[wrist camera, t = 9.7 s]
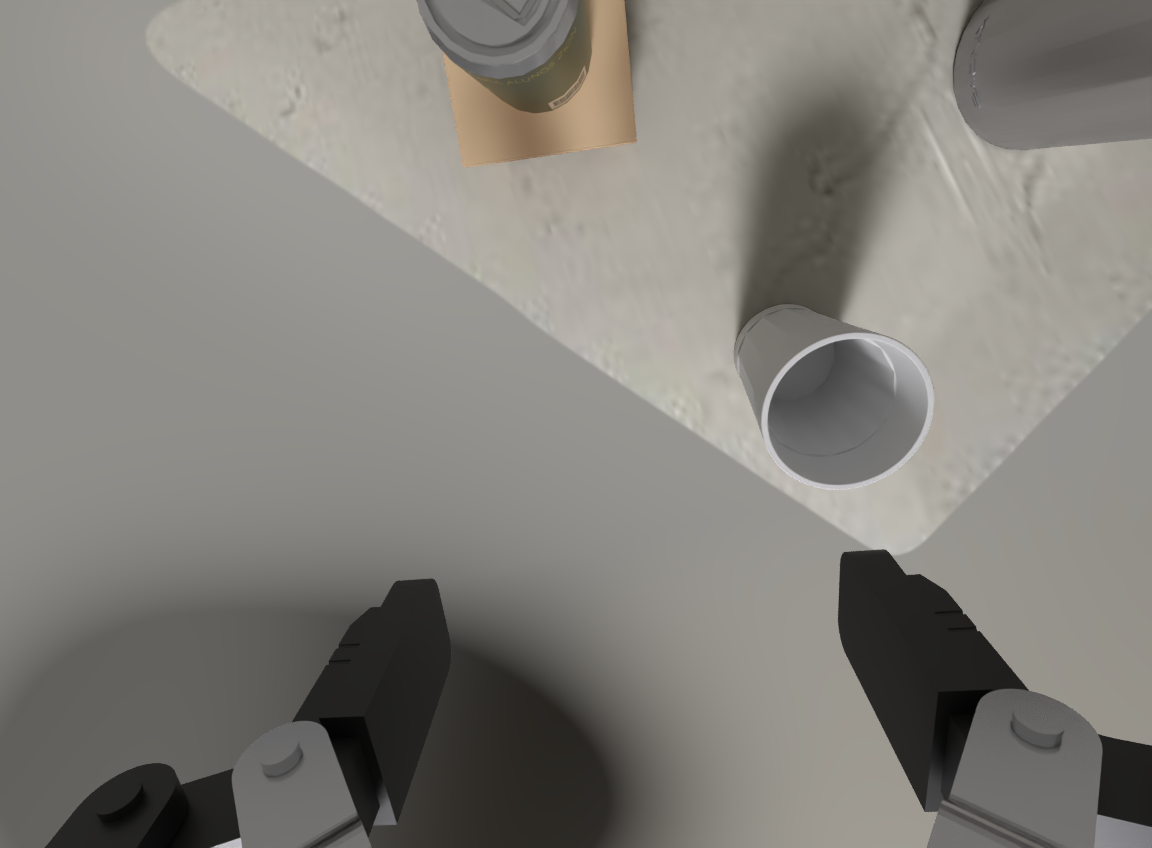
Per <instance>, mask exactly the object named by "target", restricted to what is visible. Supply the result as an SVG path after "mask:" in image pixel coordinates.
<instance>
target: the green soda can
mask: <svg viewBox="0 0 1152 848" xmlns="http://www.w3.org/2000/svg"><path fill="white" fill-rule="evenodd" d="M417 3H418V7H419V12H420V15H421V17H422V19H423V21H424V23H425V25H426V27H427V29H428V31H429V33H430V35H431V38H432V40H433V41H434V42H435V43H436V44H437V45H438V46H439V47H440V49H441V50H442V51H443V52H444V53H445V54H446V55H447V56H448V58H449V59H450V60H451V61H452V62H454V63H455V64H456V65H457V66H459V67H460V68H461V69H463V70H464V71H465V72H466V73H468V74H469V75H470V76H472V77H473V78H474V79H475V80H477V81H478V82H479V83H480V84H482V85H483V86H484V87H486V88H487V89H488V90H489V91H491V92H492V93H493V94H494V95H496V96H497V97H498V98H500V99H501V100H502V101H504V102H505V103H507V104H509V105H510V106H512V107H514V108H515V109H517V110H520V111H525V112H530V113H535V114H536V113H542V112H549V111H553V110H555V109H557V108H559V107H560V106H562V105H564V104H566V103H568V102H569V101H570V99H571V98H572V97H573V96H574V95H575V94H576V93H577V92H578V91H579V90H580V88H581V86H582V84H583V82H584V80H585V78H586V76H587V74H588V72H589V66H590V60H591V55H592V47H591V37H590V29H589V22H588V16H587V10H586V3H585V0H417Z"/></svg>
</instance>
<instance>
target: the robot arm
mask: <svg viewBox="0 0 1152 848" xmlns="http://www.w3.org/2000/svg"><path fill="white" fill-rule="evenodd" d="M954 92H955V96H956V100H957V104H958V108H959V110H960V112H961V114H962V116H963V118H964V120H965V122H966V123H967V124H968V125H969V127H970V128H971V129H972V130H973V131H974V132H975V133H976V134H977V135H978V136H979V137H981V138H983V139H984V140H986V141H987V142H989V143H990V144H993V145H996V146H999V147H1002V148H1006V149H1016V150H1029V149H1040V148H1050V147H1061V146H1075V145H1086V144H1097V143H1107V142H1118V141H1129V140H1139V139H1150V138H1152V0H984V1H983V2H982V4H981V5H980V6H979V7H978V9H977V10H976V11H975V13H974V15H973V16H972V18H971V20H970V22H969V23H968V25H967V27H966V29H965V31H964V33H963V36H962V39H961V41H960V44H959V47H958V50H957V54H956V60H955V66H954ZM839 582H840V583H839V608H838V609H839V610H838V625H839V633H840V637H841V642H842V645H843V648H844V651H845V653H846V655H847V657H848V659H849V661H850V663H851V665H852V667H853V669H854V671H855V673H856V675H857V677H858V679H859V681H860V683H861V685H862V687H863V689H864V691H865V693H866V695H867V697H868V699H869V701H870V703H871V705H872V707H873V709H874V711H875V713H876V715H877V717H878V719H879V721H880V723H881V725H882V727H883V729H884V731H885V733H886V735H887V737H888V739H889V741H890V743H891V745H892V747H893V749H894V751H895V753H896V755H897V757H898V759H899V761H900V763H901V765H902V767H903V769H904V771H905V773H906V775H907V777H908V779H909V781H910V783H911V785H912V787H913V789H914V791H915V793H916V795H917V797H918V799H919V801H920V803H921V805H922V807H923V809H924V811H925V812H932V811H933V812H936V811H938V814H937V817H936V820H935V823H934V826H933V829H932V833H931V836H930V839H929V842H928V845H927V848H1152V746H1150V745H1145V744H1140V743H1135V742H1130V741H1124V740H1120V739H1114V738H1111V737H1106V736H1102V735H1099V734H1097V732H1096V731H1095V729H1094V728H1093V727H1092V726H1091V724H1090V723H1089V722H1088V721H1087V720H1086V719H1084V718H1083V717H1082V716H1081V715H1080V714H1078V713H1077V712H1076V711H1074V710H1073V709H1071V708H1070V707H1068V706H1066V705H1065V704H1063V703H1061V702H1059V701H1057V700H1055V699H1053V698H1050V697H1048V696H1045V695H1042V694H1039V693H1036V692H1032V691H1029V690H1028V689H1027V688H1026V686H1025V685H1024V684H1023V683H1022V681H1021V680H1020V679H1019V678H1018V677H1017V676H1016V674H1015V673H1014V672H1013V671H1012V669H1011V668H1010V667H1009V666H1008V665H1007V664H1006V662H1005V661H1004V660H1003V659H1002V657H1001V656H1000V655H999V654H998V653H997V651H996V650H995V649H994V648H993V647H992V645H991V644H990V643H989V642H988V641H987V639H986V638H985V637H984V636H983V635H982V633H981V632H980V631H977V629H976V626H975V625H974V624H973V622H972V621H971V620H970V619H969V618H968V616H967V615H966V614H963V611H962V609H961V608H960V607H959V606H958V604H957V603H956V602H955V601H954V600H953V598H952V597H951V596H950V595H949V594H948V592H947V591H946V590H944V589H943V588H941V587H940V586H938V585H936V584H935V583H933V582H932V581H930V580H928V579H927V578H925V577H924V576H922V575H920V574H916V575H906V574H905V573H904V572H903V570H902V569H901V568H900V566H899V565H898V564H897V562H896V561H895V560H894V559H893V557H892V556H891V554H890V553H889V552H888V551H887V550H884V549H883V550H868V551H853V552H844V553H843V554H842V556H841V561H840V581H839ZM450 664H451V642H450V637H449V632H448V628H447V624H446V619H445V615H444V610H443V606H442V602H441V598H440V593H439V589H438V585H437V583H436V581H435V580H434V579H418V580H404V581H396V582H395V583H394V584H393V586H392V588H391V589H390V591H389V593H388V595H387V597H386V598H385V600H384V602H383V604H382V605H381V607H372V608H370V609H368V610H367V611H366V612H365V613H364V614H363V615H361V616H360V617H359V618H358V619H357V620H356V621H355V622H353V623H352V624H351V625H350V627H349V628H348V630H347V632H346V633H345V635H344V637H343V638H342V640H341V642H340V643H339V648H338V649H336V650H335V652H334V653H333V655H332V656H331V658H330V660H329V665H326V666H325V668H324V670H323V671H322V673H321V675H320V677H319V678H318V680H317V681H316V683H315V685H314V686H313V688H312V690H311V691H310V693H309V695H308V696H307V698H306V700H305V701H304V703H303V705H302V706H301V708H300V709H299V711H298V713H297V714H296V716H295V718H294V719H293V721H292V723H288V724H285V725H282V726H280V727H277V728H275V729H273V730H271V731H269V732H268V733H266V734H264V735H263V736H261V737H260V738H258V739H257V740H256V741H255V742H254V743H252V745H250V746H249V747H248V748H247V749H246V751H245V752H244V753H243V754H242V755H241V757H240V758H239V760H238V761H237V763H236V765H235V767H234V769H231V770H228V771H224V772H221V773H218V774H215V775H212V776H209V777H205V778H202V779H198V780H195V781H192V782H189V783H186V784H183V785H181V784H180V782H179V779H178V777H177V775H176V773H175V771H174V769H173V768H171V767H170V766H168V765H166V764H161V763H153V764H146V765H142V766H138V767H135V768H133V769H130V770H127V771H125V772H123V773H121V774H119V775H117V776H116V777H114V778H112V779H111V780H109V781H108V782H106V783H104V784H103V785H101V786H100V787H99V788H97V789H96V790H95V791H94V792H92V793H91V794H90V795H89V796H88V797H87V798H86V799H85V800H84V801H83V802H82V803H81V804H80V805H79V806H78V807H77V809H76V810H75V811H74V812H73V814H72V815H71V816H70V817H69V819H68V820H67V821H66V822H65V824H64V825H63V826H62V827H61V828H60V830H59V831H58V832H57V833H56V835H55V836H54V837H53V838H52V840H51V841H50V842H49V843H48V845H47V846H46V847H45V848H371V845H370V842H369V840H368V837H369V834H370V832H371V829H372V826H373V825H397V823H398V820H399V817H400V814H401V811H402V808H403V805H404V802H405V799H406V796H407V793H408V791H409V787H410V785H411V782H412V779H413V776H414V773H415V770H416V767H417V764H418V761H419V758H420V755H421V753H422V750H423V747H424V744H425V740H426V737H427V735H428V732H429V729H430V726H431V723H432V720H433V717H434V714H435V711H436V709H437V706H438V703H439V699H440V697H441V694H442V691H443V688H444V685H445V682H446V679H447V676H448V673H449V669H450Z"/></svg>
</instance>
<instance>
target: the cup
mask: <svg viewBox="0 0 1152 848" xmlns="http://www.w3.org/2000/svg"><path fill="white" fill-rule="evenodd" d="M734 363H735V368H736V371H737V373H738V375H739V377H740V379H741V380H742V382H743V385H744V388H745V390H746V393H747V396H748V398H749V401H750V403H751V406H752V409H753V411H754V414H755V417H756V419H757V422H758V425H759V428H760V431H761V434H762V437H763V440H764V443H765V445H766V448H767V450H768V452H769V454H770V455H771V457H772V459H773V460H774V461H775V463H776V464H777V465H778V466H779V467H780V468H781V469H782V470H783V471H784V472H785V473H787V474H788V475H789V476H791V477H792V478H794V479H796V480H797V481H799V482H802V483H804V484H806V485H809V486H813V487H816V488H821V489H829V490H844V489H852V488H858V487H862V486H865V485H868V484H871V483H874V482H876V481H878V480H881V479H883V478H885V477H886V476H888V475H890V474H891V473H893V472H894V471H896V470H897V469H898V468H900V467H901V466H902V465H903V464H904V463H906V462H907V461H908V460H909V459H910V458H911V457H912V455H913V454H914V453H915V452H916V451H917V449H918V448H919V447H920V445H921V444H922V442H923V440H924V438H925V437H926V435H927V433H928V430H929V428H930V425H931V422H932V418H933V413H934V405H935V397H934V388H933V384H932V380H931V377H930V375H929V372H928V370H927V368H926V367H925V365H924V364H923V362H922V361H921V359H920V358H919V357H918V356H917V355H916V354H915V353H914V352H913V351H912V350H911V349H910V348H908V347H907V346H906V345H904V344H903V343H901V342H899V341H897V340H895V339H893V338H890V337H888V336H885V335H882V334H878V333H875V332H872V331H869V330H866V329H862V328H859V327H856V326H853V325H850V324H847V323H844V322H842V321H839V320H836V319H833V318H830V317H827V316H824V315H822V314H819V313H816V312H814V311H812V310H810V309H808V308H806V307H803V306H800V305H794V304H782V305H776V306H772V307H769V308H767V309H765V310H763V311H761V312H759V313H758V314H756V315H755V316H754V317H752V318H751V319H750V320H749V321H748V322H747V323H746V325H745V326H744V327H743V329H742V330H741V332H740V334H739V336H738V338H737V341H736V344H735V348H734Z"/></svg>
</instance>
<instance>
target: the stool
mask: <svg viewBox="0 0 1152 848" xmlns="http://www.w3.org/2000/svg"><path fill="white" fill-rule="evenodd" d="M585 3H586V10H587V16H588V22H589V29H590V37H591V47H592V55H591V60H590V66H589V72H588V74H587V76H586V78H585V80H584V82H583V84H582V86H581V88H580V90H579V91H578V92H577V93H576V94H575V95H574V96H573V97H572V98H571V99H570V101H569V102H568V103H566V104H564V105H562V106H560V107H559V108H557V109H555V110H553V111H549V112H542V113H536V114H535V113H530V112H525V111H520V110H517V109H515V108H514V107H512V106H510V105H509V104H507V103H505V102H504V101H502V100H501V99H500V98H498V97H497V96H496V95H494V94H493V93H492V92H491V91H489V90H488V89H487V88H486V87H484V86H483V85H482V84H480V83H479V82H478V81H477V80H475V79H474V78H473V77H472V76H470V75H469V74H468V73H466V72H465V71H464V70H463V69H461V68H460V67H459V66H457V65H456V64H455V63H454V62H452V61H451V60H450V59H449V58H448V56H447V55H446V54H445V53H444V52H443V51H442V52H443V58H444V63H445V69H446V75H447V80H448V86H449V91H450V97H451V103H452V108H453V114H454V119H455V125H456V130H457V136H458V142H459V147H460V153H461V158H462V164H463V167H473V166H480V165H487V164H494V163H501V162H508V161H515V160H521V159H528V158H535V157H542V156H549V155H556V154H563V153H569V152H576V151H583V150H590V149H597V148H604V147H611V146H617V145H624V144H631V143H636V142H637V139H636V128H635V116H634V105H633V93H632V82H631V71H630V59H629V48H628V36H627V25H626V13H625V2H624V0H585Z"/></svg>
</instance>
